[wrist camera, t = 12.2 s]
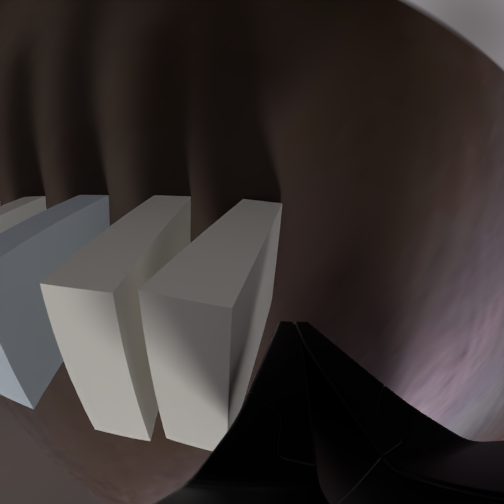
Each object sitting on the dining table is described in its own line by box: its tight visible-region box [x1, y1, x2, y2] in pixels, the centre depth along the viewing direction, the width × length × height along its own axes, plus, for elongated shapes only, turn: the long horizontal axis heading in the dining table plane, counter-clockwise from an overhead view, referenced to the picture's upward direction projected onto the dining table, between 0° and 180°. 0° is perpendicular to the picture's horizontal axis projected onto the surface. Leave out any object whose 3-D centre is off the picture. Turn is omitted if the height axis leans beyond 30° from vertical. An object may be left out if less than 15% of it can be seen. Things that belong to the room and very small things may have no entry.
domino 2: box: [40, 195, 191, 441], centre depth 10 cm, size 2×5×9 cm, turn 176°
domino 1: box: [138, 199, 282, 451], centre depth 10 cm, size 2×5×9 cm, turn 176°
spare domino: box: [0, 195, 110, 409], centre depth 10 cm, size 2×5×9 cm, turn 175°
